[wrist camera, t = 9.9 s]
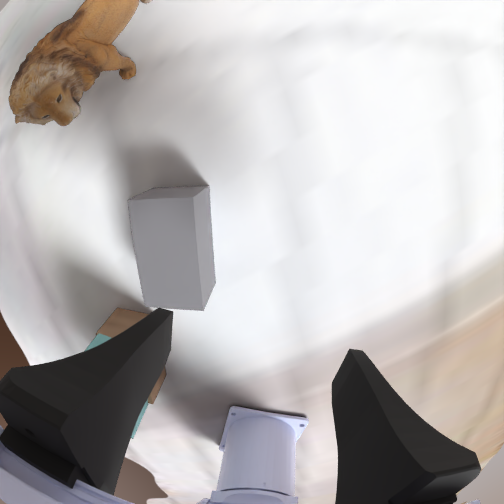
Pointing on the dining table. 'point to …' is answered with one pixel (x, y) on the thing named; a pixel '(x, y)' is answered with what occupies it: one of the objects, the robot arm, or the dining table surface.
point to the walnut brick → (120, 323)
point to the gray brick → (174, 246)
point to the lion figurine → (71, 62)
